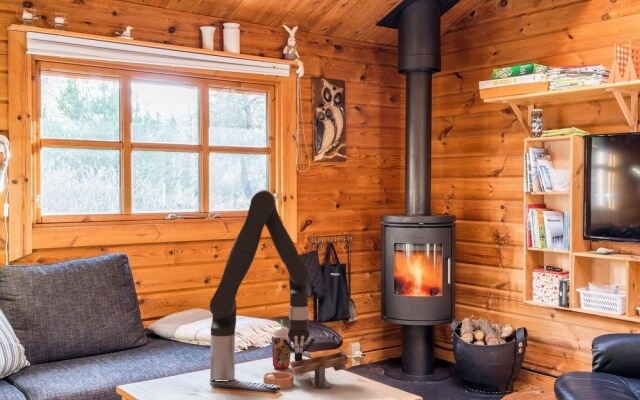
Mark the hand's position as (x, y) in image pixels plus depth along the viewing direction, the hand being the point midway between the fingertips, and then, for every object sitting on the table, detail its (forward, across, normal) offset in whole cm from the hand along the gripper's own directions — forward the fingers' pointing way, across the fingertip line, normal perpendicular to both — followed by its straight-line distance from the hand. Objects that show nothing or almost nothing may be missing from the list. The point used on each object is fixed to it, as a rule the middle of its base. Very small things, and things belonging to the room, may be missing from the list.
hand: (298, 362), depth 278 cm
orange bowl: (+6, -8, -8) cm, 14 cm away
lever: (+2, +7, -4) cm, 9 cm away
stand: (+6, +7, -8) cm, 13 cm away
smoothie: (+6, -5, +17) cm, 18 cm away
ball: (+4, -11, -8) cm, 15 cm away
